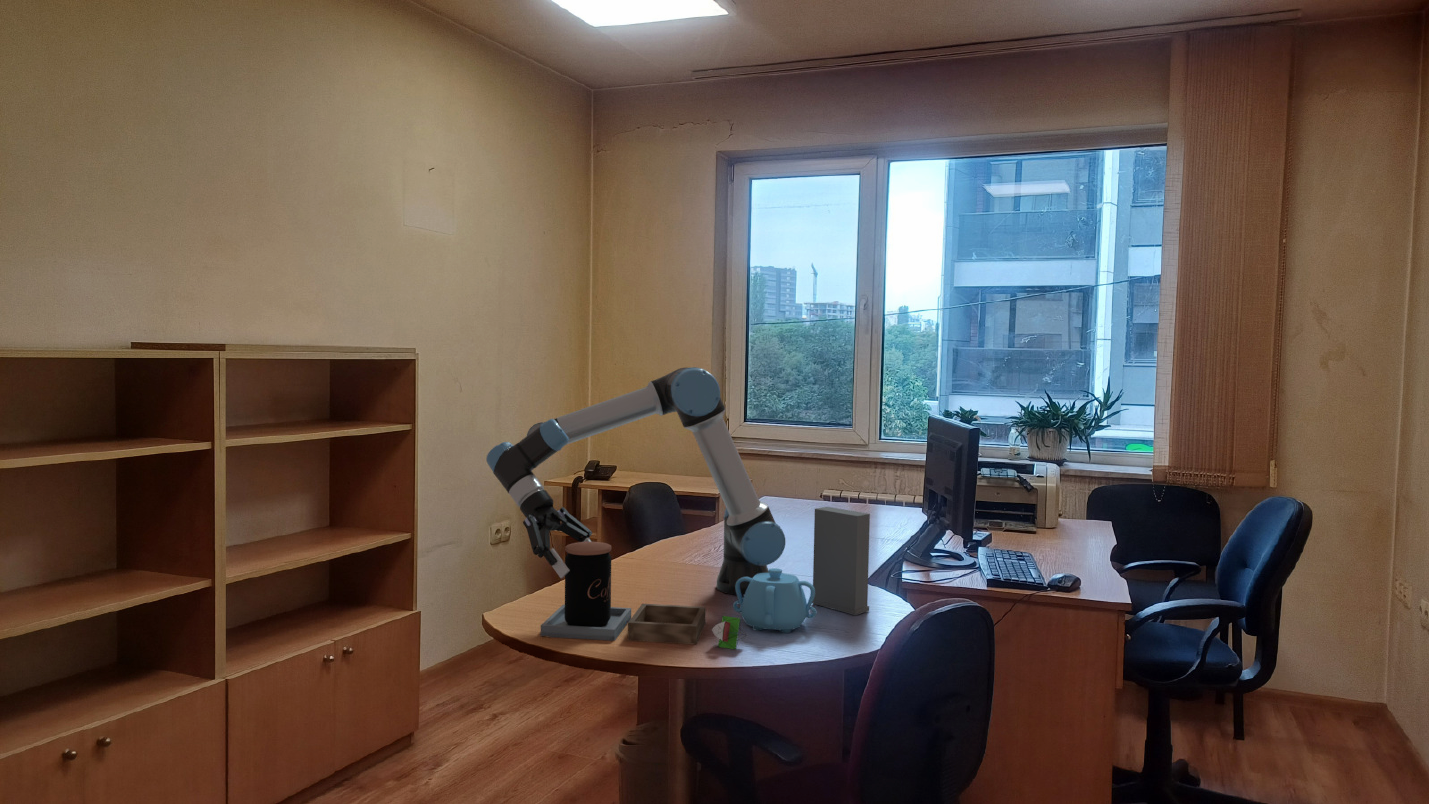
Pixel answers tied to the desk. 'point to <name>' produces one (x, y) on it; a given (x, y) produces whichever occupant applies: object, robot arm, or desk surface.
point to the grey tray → (610, 631)
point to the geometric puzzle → (727, 632)
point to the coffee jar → (588, 584)
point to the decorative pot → (774, 601)
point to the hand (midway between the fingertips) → (583, 568)
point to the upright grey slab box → (841, 559)
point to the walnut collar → (667, 623)
